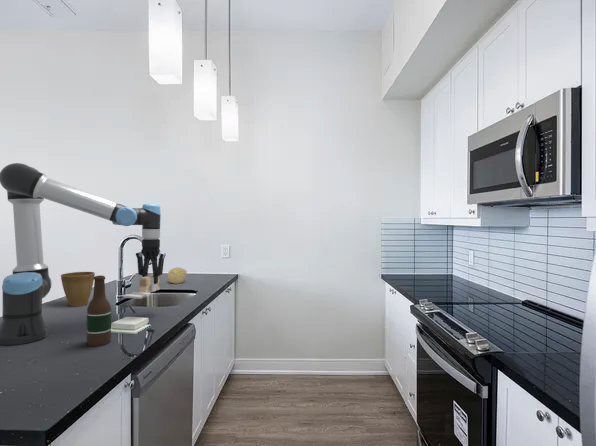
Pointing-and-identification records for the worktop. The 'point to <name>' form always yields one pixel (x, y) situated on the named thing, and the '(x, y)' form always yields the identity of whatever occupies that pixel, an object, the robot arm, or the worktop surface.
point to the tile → (129, 323)
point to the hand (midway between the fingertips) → (150, 290)
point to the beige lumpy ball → (176, 275)
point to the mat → (129, 330)
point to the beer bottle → (99, 315)
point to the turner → (144, 288)
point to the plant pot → (77, 287)
